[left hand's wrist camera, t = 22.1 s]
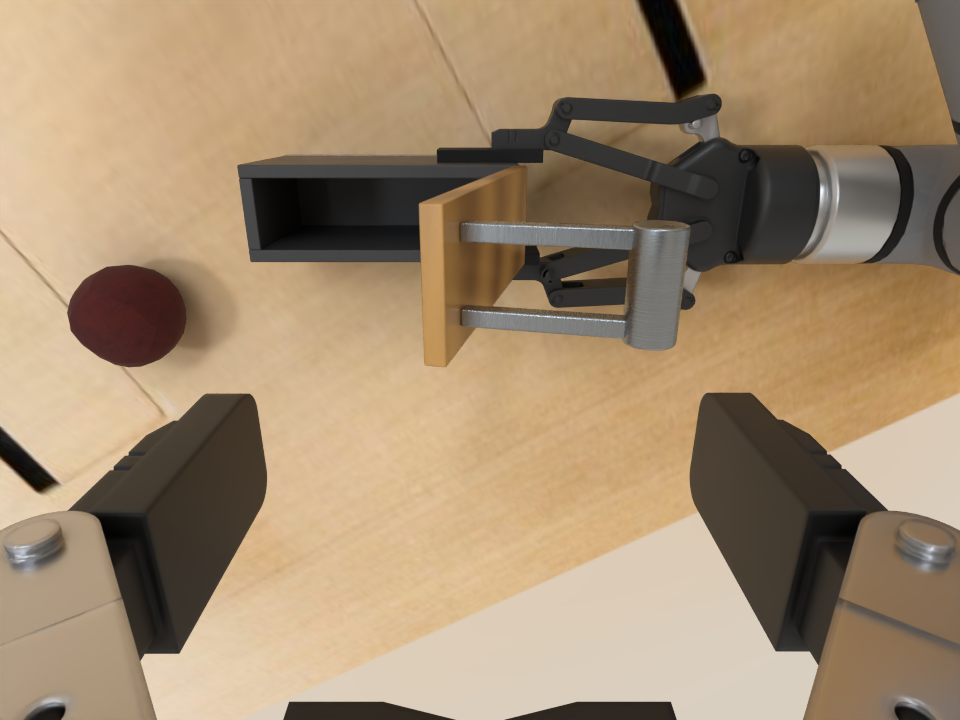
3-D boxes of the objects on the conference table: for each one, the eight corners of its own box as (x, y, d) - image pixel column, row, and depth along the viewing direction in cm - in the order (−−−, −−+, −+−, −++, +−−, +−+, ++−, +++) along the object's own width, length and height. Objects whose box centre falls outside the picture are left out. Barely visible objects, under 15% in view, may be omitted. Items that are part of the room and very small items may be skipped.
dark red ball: (181, 361, 51) (137, 397, 44) (90, 314, 49) (30, 344, 43) (216, 287, 48) (174, 314, 42) (121, 236, 47) (63, 255, 40)
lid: (423, 365, 22) (677, 389, 20) (418, 202, 20) (700, 211, 18) (511, 263, 37) (658, 271, 35) (512, 165, 35) (670, 168, 33)
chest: (295, 233, 47) (250, 262, 38) (286, 154, 45) (236, 164, 35) (509, 233, 47) (517, 262, 38) (511, 155, 45) (519, 164, 35)
